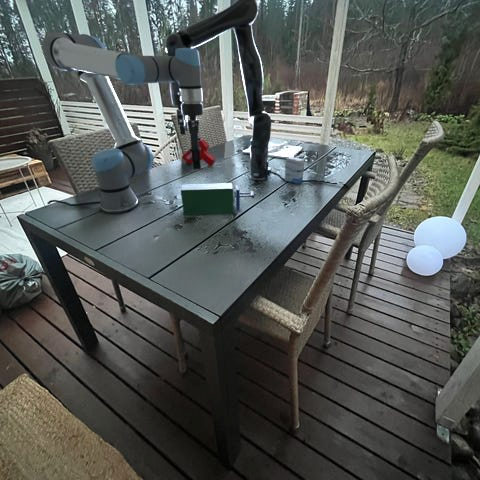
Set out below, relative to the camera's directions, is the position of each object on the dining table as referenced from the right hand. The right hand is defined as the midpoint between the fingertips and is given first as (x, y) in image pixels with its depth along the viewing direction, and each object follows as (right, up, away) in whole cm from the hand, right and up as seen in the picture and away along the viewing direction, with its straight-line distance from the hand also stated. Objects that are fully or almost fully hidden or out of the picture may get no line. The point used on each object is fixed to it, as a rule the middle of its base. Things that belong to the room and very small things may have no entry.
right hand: (184, 132), depth 124 cm
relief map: (+49, +14, +69) cm, 86 cm away
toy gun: (0, -2, +45) cm, 45 cm away
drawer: (+19, -36, -10) cm, 42 cm away
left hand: (+9, -19, -19) cm, 28 cm away
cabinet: (+12, -37, -10) cm, 40 cm away
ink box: (+54, -18, +19) cm, 60 cm away
